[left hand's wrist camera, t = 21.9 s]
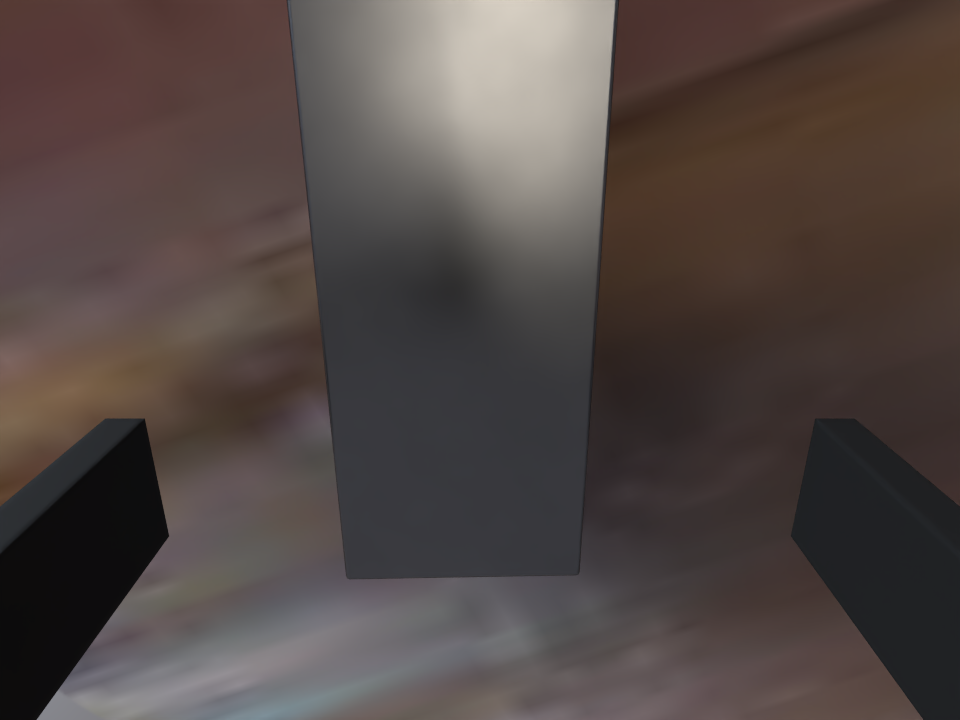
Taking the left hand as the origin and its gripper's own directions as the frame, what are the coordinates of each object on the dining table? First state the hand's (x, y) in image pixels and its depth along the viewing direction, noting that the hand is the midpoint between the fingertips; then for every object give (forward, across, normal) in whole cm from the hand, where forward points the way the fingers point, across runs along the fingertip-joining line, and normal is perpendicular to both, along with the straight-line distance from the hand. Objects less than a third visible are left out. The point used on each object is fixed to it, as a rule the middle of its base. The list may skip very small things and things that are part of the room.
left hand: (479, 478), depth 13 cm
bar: (+10, +1, -9) cm, 13 cm away
